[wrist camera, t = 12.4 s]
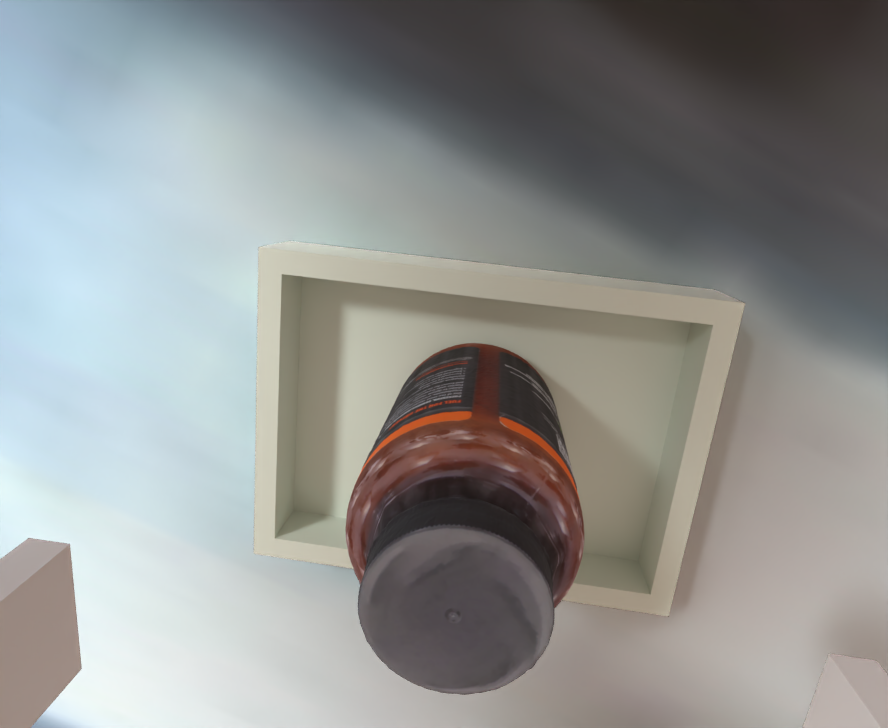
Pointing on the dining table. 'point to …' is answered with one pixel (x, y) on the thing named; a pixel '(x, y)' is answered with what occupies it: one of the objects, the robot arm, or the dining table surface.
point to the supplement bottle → (465, 523)
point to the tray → (520, 331)
